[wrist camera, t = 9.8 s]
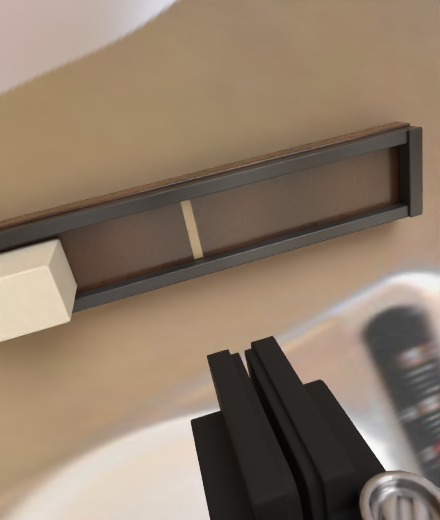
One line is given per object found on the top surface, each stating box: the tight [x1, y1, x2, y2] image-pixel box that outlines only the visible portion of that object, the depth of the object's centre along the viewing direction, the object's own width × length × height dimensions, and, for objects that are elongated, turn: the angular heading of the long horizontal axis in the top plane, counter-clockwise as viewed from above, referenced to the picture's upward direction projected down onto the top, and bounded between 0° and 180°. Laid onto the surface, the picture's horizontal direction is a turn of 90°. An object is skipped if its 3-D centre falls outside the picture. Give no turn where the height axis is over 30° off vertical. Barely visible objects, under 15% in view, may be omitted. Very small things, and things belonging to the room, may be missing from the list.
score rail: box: [0, 122, 422, 313], centre depth 22 cm, size 26×5×2 cm, turn 101°
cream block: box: [0, 238, 77, 342], centre depth 19 cm, size 4×3×4 cm
